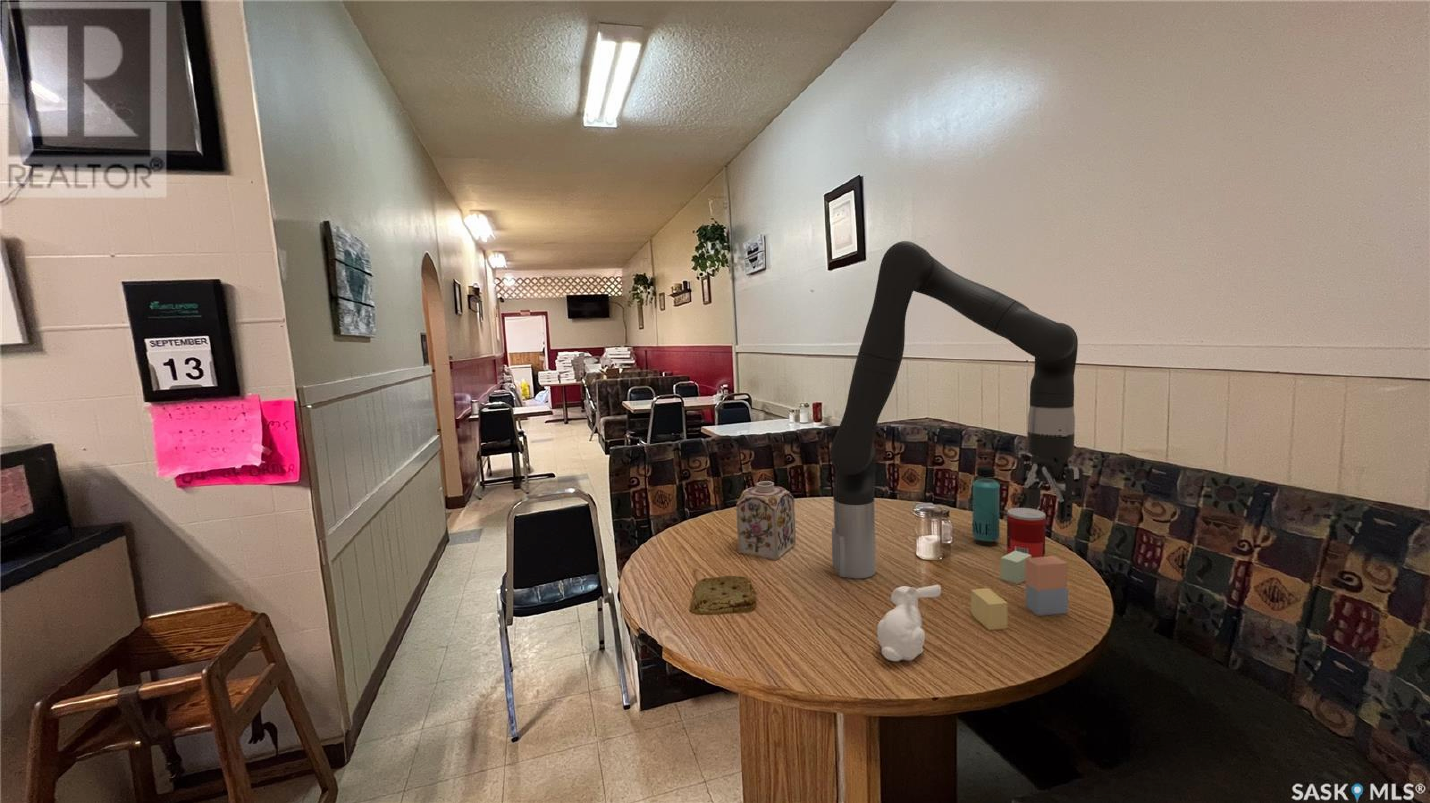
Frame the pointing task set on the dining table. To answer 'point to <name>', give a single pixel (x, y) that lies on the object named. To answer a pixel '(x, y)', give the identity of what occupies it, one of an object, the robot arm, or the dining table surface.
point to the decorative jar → (766, 521)
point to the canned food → (1026, 531)
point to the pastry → (723, 595)
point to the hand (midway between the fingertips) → (1048, 513)
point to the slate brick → (1047, 601)
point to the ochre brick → (989, 608)
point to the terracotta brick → (1046, 573)
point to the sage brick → (1014, 567)
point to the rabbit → (904, 624)
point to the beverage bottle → (985, 506)
